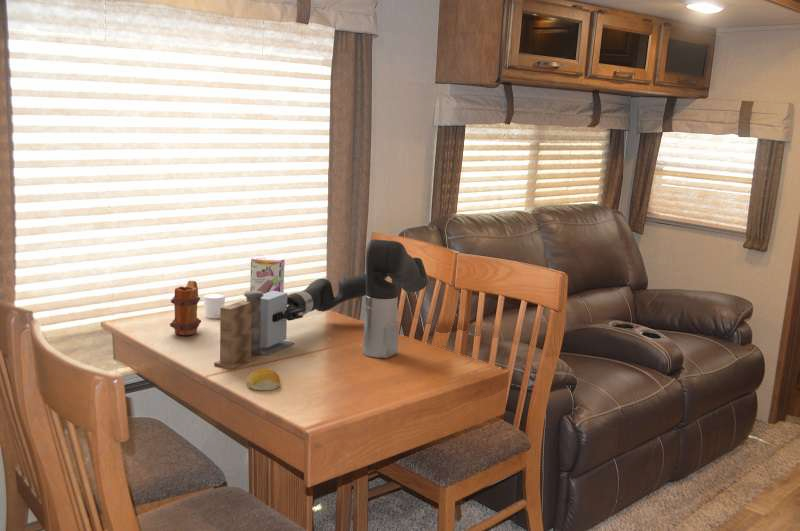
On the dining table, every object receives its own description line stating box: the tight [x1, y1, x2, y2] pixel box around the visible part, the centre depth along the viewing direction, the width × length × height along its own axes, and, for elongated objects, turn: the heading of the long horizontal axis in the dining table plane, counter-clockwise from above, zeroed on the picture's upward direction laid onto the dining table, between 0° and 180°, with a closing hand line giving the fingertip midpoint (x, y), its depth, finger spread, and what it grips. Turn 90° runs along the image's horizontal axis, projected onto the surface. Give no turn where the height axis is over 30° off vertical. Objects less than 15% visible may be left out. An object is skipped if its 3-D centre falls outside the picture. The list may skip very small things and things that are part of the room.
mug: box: [169, 280, 202, 336], centre depth 229 cm, size 15×8×15 cm, turn 179°
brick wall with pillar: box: [213, 290, 263, 370], centre depth 205 cm, size 16×6×18 cm, turn 156°
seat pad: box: [260, 340, 295, 356], centre depth 219 cm, size 14×8×1 cm, turn 157°
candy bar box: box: [249, 256, 286, 294], centre depth 268 cm, size 11×5×16 cm, turn 82°
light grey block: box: [260, 291, 288, 348], centre depth 217 cm, size 5×10×14 cm, turn 157°
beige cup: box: [203, 293, 226, 319], centre depth 249 cm, size 7×7×7 cm
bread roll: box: [246, 368, 282, 391], centre depth 187 cm, size 8×9×4 cm
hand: (265, 317), depth 215 cm, fingers closed on light grey block, 5 cm apart
